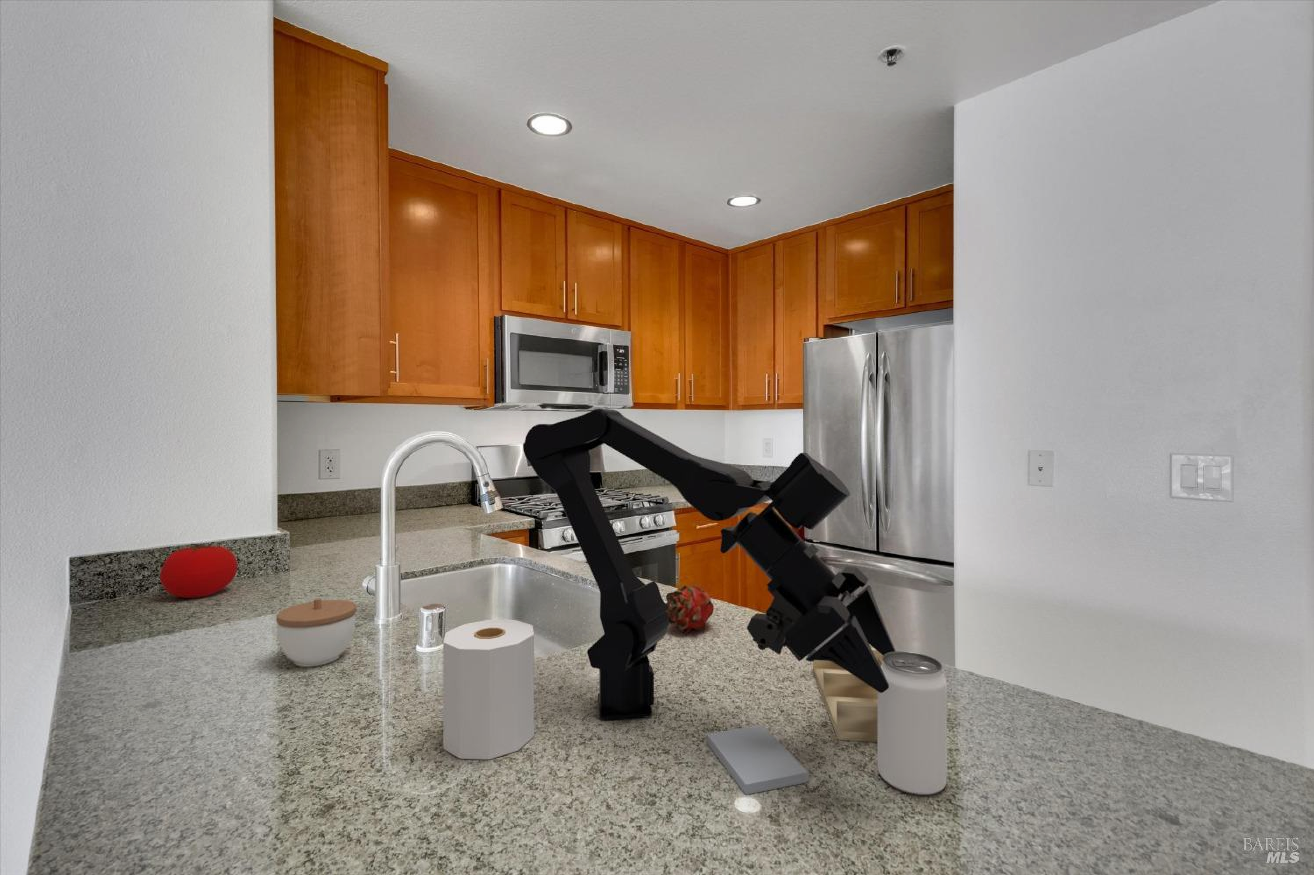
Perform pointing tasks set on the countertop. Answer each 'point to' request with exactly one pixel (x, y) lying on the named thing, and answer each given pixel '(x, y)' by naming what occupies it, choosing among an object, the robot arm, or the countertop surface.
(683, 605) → the dragon fruit
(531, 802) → the countertop surface
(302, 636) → the lidded jar
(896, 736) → the can
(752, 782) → the block
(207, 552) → the tomato
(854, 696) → the rack
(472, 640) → the toilet paper
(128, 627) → the countertop surface
